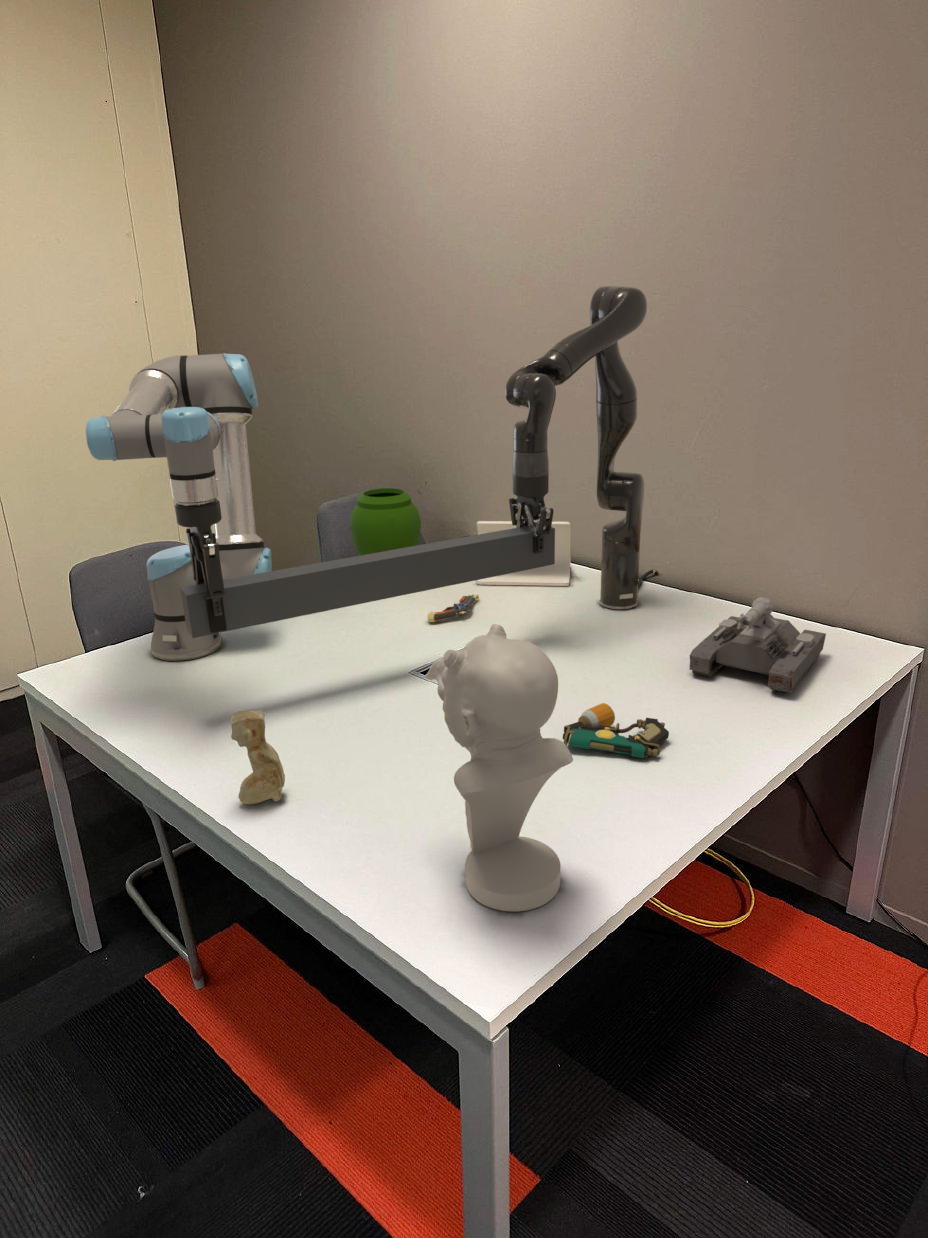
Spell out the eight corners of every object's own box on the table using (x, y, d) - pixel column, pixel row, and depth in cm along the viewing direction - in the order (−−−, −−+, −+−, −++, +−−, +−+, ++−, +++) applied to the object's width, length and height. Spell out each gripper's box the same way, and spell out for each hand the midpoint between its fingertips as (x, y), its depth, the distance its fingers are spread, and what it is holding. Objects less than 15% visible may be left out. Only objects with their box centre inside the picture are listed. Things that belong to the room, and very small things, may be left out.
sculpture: (242, 790, 137) (231, 706, 132) (288, 786, 138) (278, 703, 133) (237, 810, 132) (225, 724, 127) (285, 806, 133) (274, 720, 127)
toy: (730, 636, 192) (736, 573, 187) (823, 655, 181) (832, 588, 176) (687, 676, 173) (692, 607, 168) (788, 699, 162) (797, 626, 157)
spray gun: (676, 738, 151) (644, 780, 139) (589, 712, 159) (553, 749, 147) (678, 717, 149) (647, 758, 137) (590, 692, 157) (554, 728, 145)
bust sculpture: (499, 802, 132) (496, 588, 120) (593, 890, 112) (600, 643, 100) (405, 834, 125) (391, 609, 113) (486, 933, 105) (480, 673, 93)
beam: (192, 638, 151) (186, 595, 148) (186, 629, 155) (180, 587, 152) (554, 564, 186) (555, 528, 183) (541, 558, 190) (542, 523, 187)
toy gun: (425, 614, 204) (465, 611, 202) (441, 594, 222) (479, 590, 220) (426, 625, 205) (467, 622, 203) (443, 604, 223) (480, 601, 221)
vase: (385, 564, 253) (380, 482, 244) (437, 574, 242) (434, 489, 233) (339, 581, 238) (332, 495, 229) (393, 593, 227) (387, 503, 218)
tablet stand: (569, 585, 229) (570, 524, 223) (476, 584, 232) (475, 523, 226) (570, 566, 246) (571, 508, 240) (484, 564, 249) (483, 507, 243)
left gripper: (232, 508, 141) (249, 637, 150) (205, 487, 156) (222, 606, 164) (186, 514, 138) (206, 647, 146) (163, 493, 152) (182, 614, 161)
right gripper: (565, 475, 174) (564, 554, 180) (526, 463, 186) (527, 539, 192) (534, 479, 171) (534, 561, 177) (497, 468, 182) (498, 544, 189)
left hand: (214, 625), depth 155 cm, fingers closed on beam, 5 cm apart
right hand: (530, 549), depth 184 cm, fingers closed on beam, 5 cm apart
